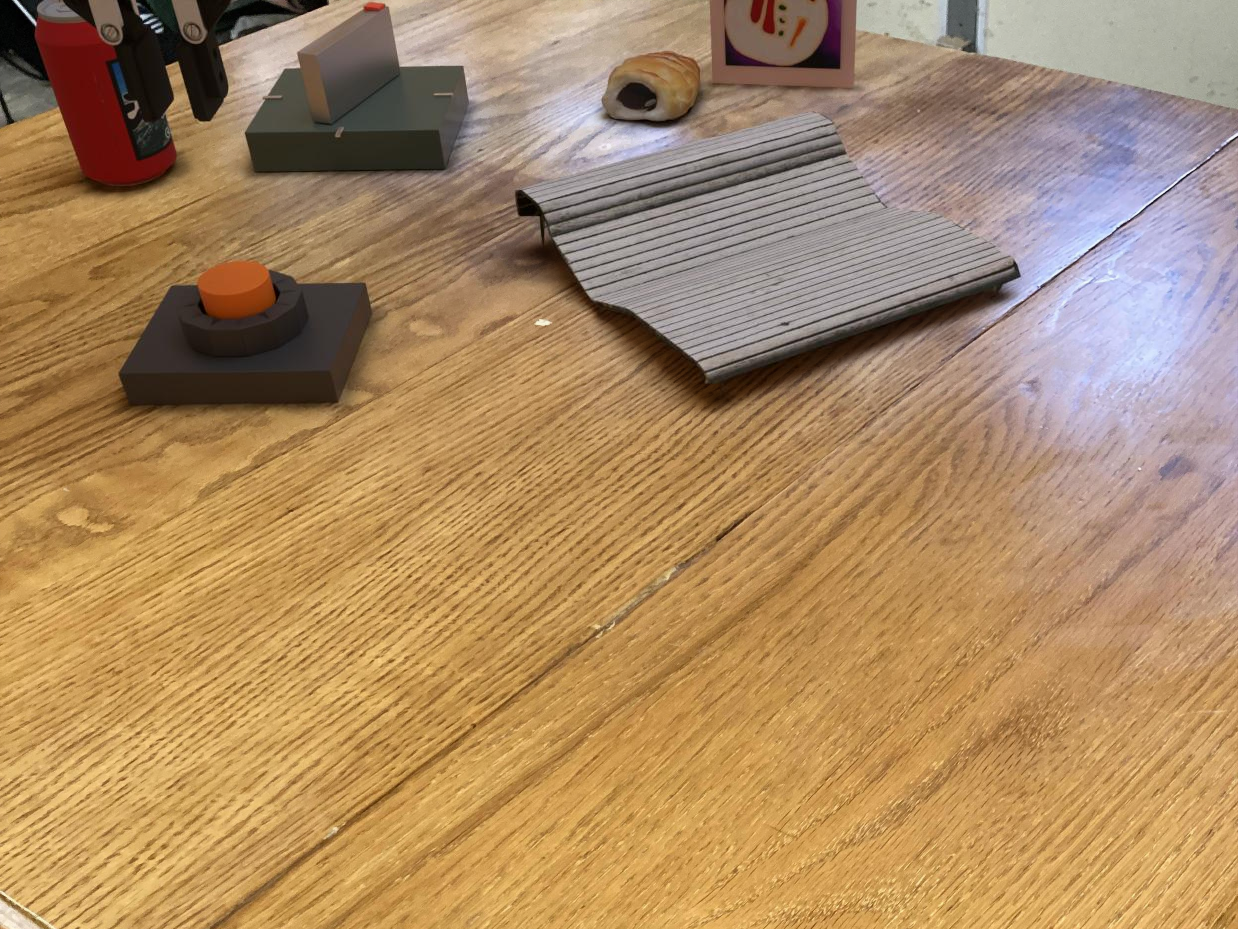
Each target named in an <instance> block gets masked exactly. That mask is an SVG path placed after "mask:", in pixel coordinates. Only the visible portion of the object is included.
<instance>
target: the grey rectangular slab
mask: <svg viewBox="0 0 1238 929" xmlns="http://www.w3.org/2000/svg"><path fill="white" fill-rule="evenodd" d="M296 55H297V60H298V63H299V68H301V73H302V77H303V81H304V86H305V90H306V94H307V99H308V103H309V108H310V112H311V116H312V121H313V122H320V123H327V124H332V123H334V122H335V121H336V120H338V119H339V118H340V117H342V116H343V115H344V114H346V113H347V112H348V111H350V110H351V109H353V108H354V107H355V106H357V105H358V104H359V103H361V102H362V101H363V100H365V99H366V98H367V97H369V96H370V95H372V94H373V93H374V92H376V91H377V90H378V89H380V88H381V87H382V86H384V85H385V84H386V83H388V82H389V81H391V80H392V79H393V78H395V77H396V76H397V75H399V74H400V73H401V71H400V67H401V66H400V60H399V56H398V50H397V44H396V39H395V34H394V28H393V22H392V16H391V11H390V7H389V6H388V5H386V3H383V2H373V1H369V2H368V3H366V4H364V5H363V8H362V9H361V10H359V11H358V12H356V13H355V14H353V15H351V16H350V17H348V18H347V19H346V20H344V21H342V22H341V23H339V24H338V25H336V26H335V27H333V28H331V29H330V30H329V31H327V32H325V33H324V34H322V35H321V36H319V37H318V38H316V39H315V40H313V41H312V42H310V43H309V44H307V45H306V46H304V47H302V48H301V49H299V50H298V51H296Z"/></svg>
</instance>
